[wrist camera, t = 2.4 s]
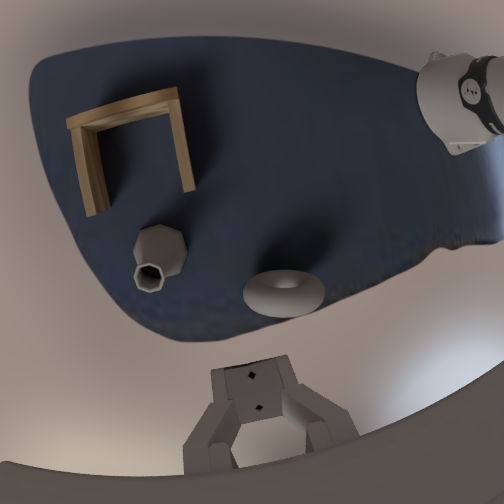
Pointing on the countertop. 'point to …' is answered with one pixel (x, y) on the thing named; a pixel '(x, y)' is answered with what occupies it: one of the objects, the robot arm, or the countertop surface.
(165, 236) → the flask
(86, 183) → the wooden arch bench
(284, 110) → the countertop surface
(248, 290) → the donut
